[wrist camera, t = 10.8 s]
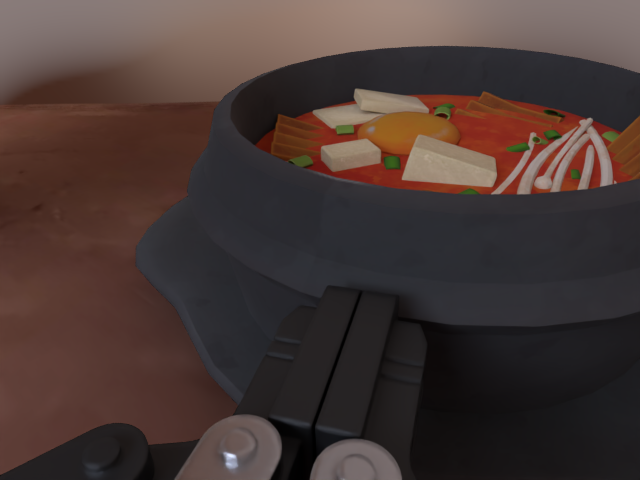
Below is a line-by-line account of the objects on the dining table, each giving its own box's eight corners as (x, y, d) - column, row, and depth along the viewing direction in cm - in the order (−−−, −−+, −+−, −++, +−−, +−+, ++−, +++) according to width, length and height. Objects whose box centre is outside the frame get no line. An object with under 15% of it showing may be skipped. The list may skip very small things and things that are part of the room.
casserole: (806, 276, 22) (920, 68, 17) (926, 855, 9) (1510, 603, 4) (302, 161, 34) (294, 19, 29) (31, 333, 21) (-59, 123, 16)
